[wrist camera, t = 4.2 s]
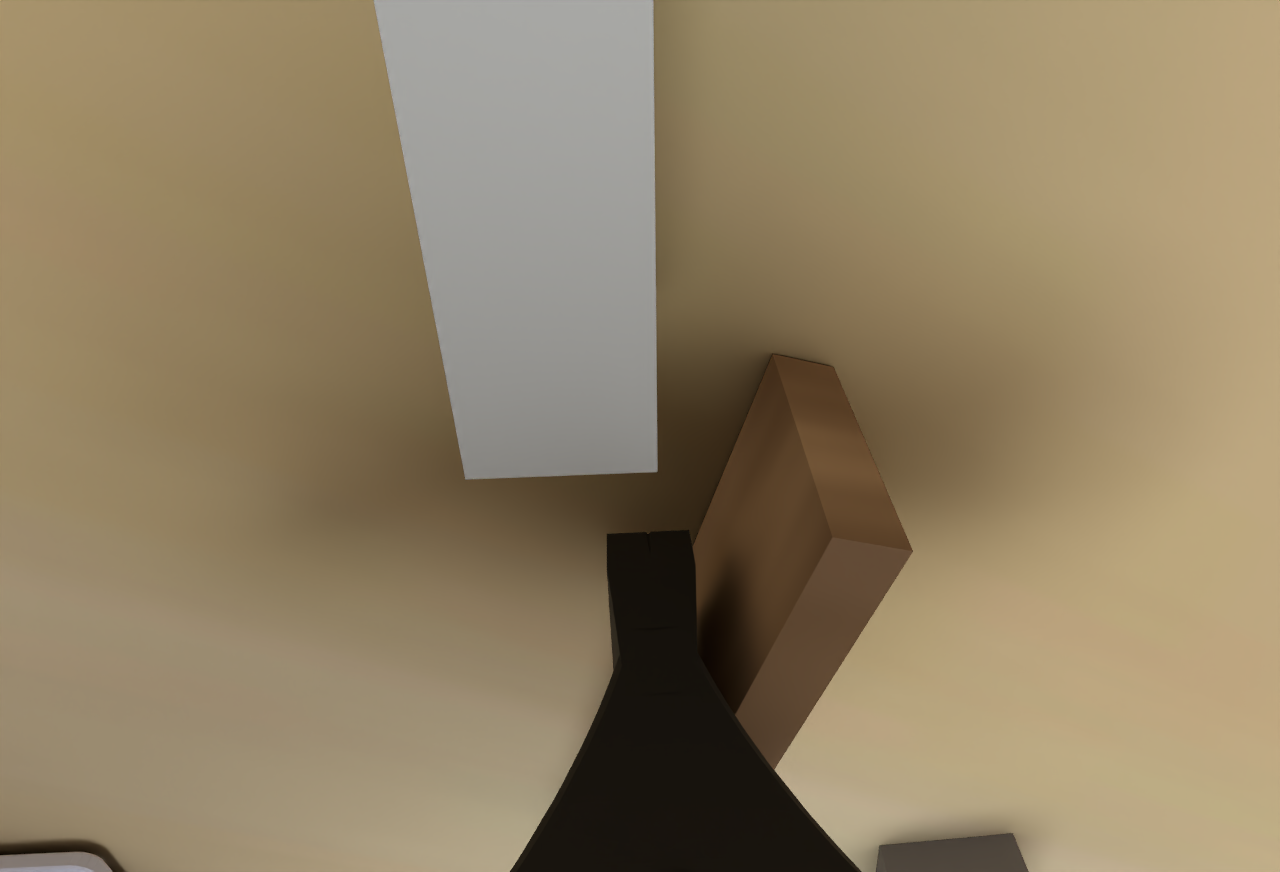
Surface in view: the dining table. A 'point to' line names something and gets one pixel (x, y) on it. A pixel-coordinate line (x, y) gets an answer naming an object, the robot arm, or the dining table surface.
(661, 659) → the robot arm
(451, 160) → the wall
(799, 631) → the door
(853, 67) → the dining table surface
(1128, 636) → the dining table surface
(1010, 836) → the grey rectangular block
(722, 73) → the dining table surface
